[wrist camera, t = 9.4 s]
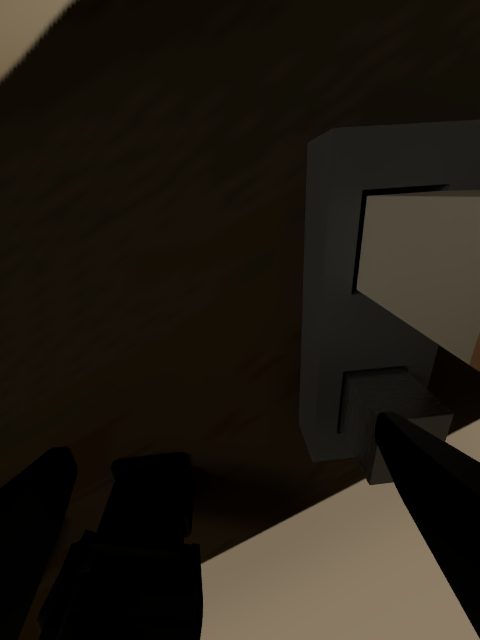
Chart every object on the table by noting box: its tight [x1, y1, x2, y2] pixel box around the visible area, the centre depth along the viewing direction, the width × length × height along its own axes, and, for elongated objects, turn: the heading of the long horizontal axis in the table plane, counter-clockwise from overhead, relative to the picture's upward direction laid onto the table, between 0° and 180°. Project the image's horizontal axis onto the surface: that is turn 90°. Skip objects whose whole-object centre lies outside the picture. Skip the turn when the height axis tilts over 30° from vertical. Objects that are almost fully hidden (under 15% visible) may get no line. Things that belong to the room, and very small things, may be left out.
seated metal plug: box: [337, 366, 454, 485], centre depth 20 cm, size 4×5×8 cm
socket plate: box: [299, 120, 480, 462], centre depth 20 cm, size 8×22×4 cm, turn 4°
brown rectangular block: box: [357, 190, 480, 372], centre depth 11 cm, size 4×5×9 cm
